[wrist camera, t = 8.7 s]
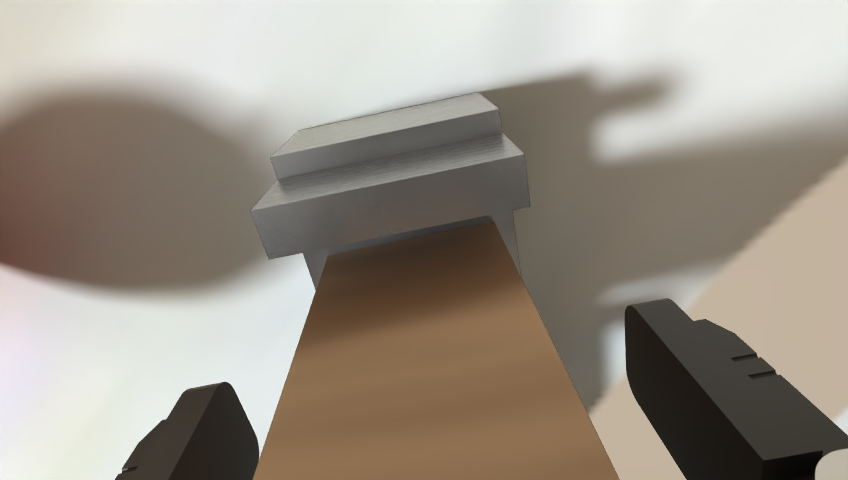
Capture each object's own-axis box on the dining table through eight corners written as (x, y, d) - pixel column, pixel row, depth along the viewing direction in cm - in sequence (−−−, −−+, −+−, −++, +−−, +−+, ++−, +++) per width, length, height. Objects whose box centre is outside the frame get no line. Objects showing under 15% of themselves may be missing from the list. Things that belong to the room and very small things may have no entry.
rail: (545, 552, 21) (586, 699, 16) (435, 571, 21) (444, 721, 16) (478, 92, 13) (520, 125, 8) (298, 130, 13) (240, 184, 8)
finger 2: (327, 255, 11) (224, 562, 5) (493, 221, 11) (625, 492, 4) (374, 401, 13) (348, 763, 6) (517, 374, 13) (634, 720, 6)
